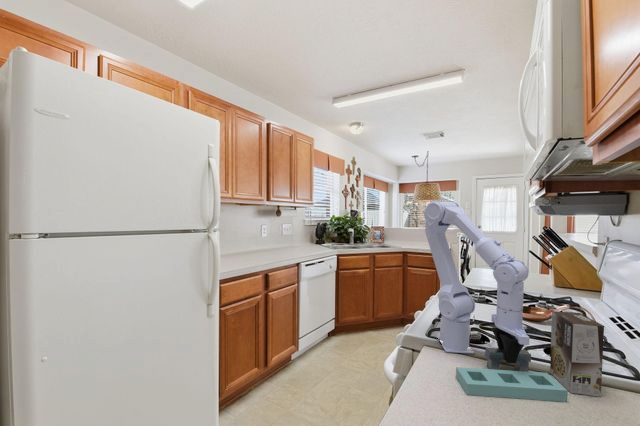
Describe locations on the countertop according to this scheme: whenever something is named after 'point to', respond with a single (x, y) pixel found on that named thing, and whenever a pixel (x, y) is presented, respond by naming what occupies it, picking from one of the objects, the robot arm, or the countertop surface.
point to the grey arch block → (498, 354)
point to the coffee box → (577, 352)
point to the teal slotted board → (510, 384)
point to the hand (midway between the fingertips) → (507, 359)
